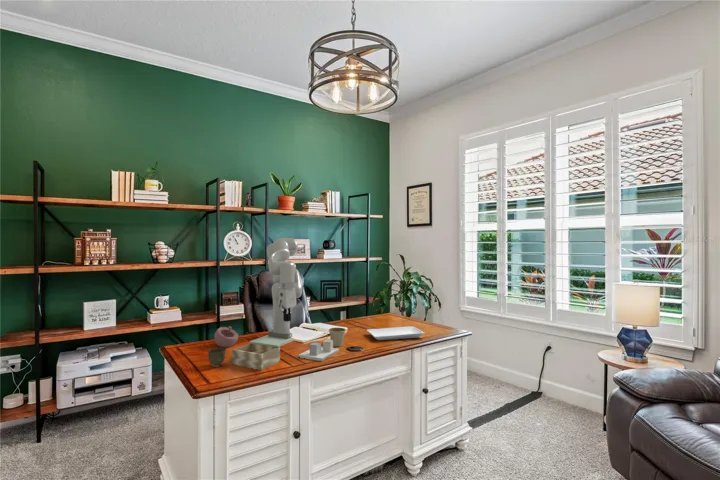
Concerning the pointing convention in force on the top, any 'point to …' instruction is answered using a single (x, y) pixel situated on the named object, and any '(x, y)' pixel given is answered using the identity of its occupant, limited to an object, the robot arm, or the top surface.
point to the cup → (216, 356)
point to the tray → (395, 333)
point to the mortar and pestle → (225, 337)
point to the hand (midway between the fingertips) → (287, 320)
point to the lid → (273, 339)
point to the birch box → (256, 356)
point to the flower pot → (337, 336)
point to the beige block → (327, 345)
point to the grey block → (315, 348)
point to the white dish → (319, 357)
